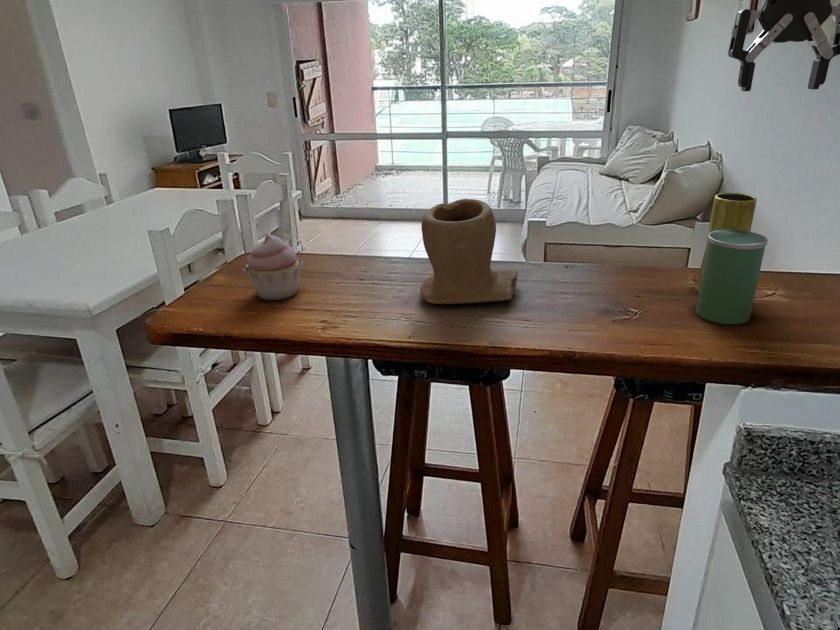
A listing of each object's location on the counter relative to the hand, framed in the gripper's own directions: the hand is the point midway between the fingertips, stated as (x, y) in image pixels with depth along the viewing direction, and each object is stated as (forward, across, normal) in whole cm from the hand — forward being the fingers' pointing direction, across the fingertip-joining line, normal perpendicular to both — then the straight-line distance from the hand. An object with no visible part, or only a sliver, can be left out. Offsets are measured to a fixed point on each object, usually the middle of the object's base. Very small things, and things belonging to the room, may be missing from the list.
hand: (779, 90), depth 81 cm
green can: (+27, -7, -17) cm, 33 cm away
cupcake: (+27, -73, -18) cm, 80 cm away
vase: (+28, -6, -8) cm, 29 cm away
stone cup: (+27, -42, -16) cm, 52 cm away
